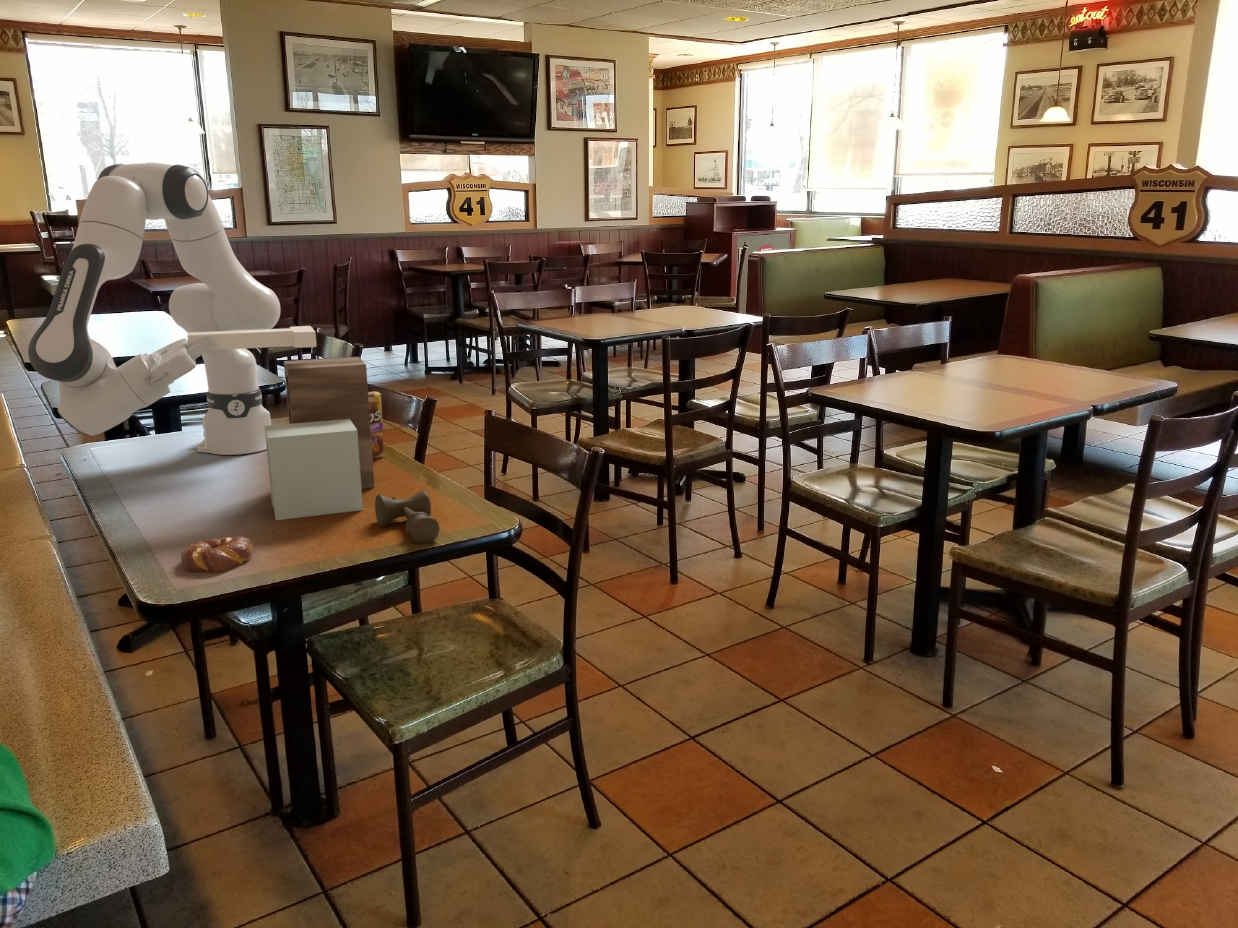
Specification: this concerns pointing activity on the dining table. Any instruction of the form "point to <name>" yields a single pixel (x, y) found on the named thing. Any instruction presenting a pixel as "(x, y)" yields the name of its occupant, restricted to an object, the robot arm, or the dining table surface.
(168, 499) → the dining table surface
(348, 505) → the pale green rectangular block
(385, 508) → the kendama
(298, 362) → the tall stand
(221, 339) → the T-piece
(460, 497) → the dining table surface
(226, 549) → the pretzel
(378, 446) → the candy box
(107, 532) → the dining table surface
